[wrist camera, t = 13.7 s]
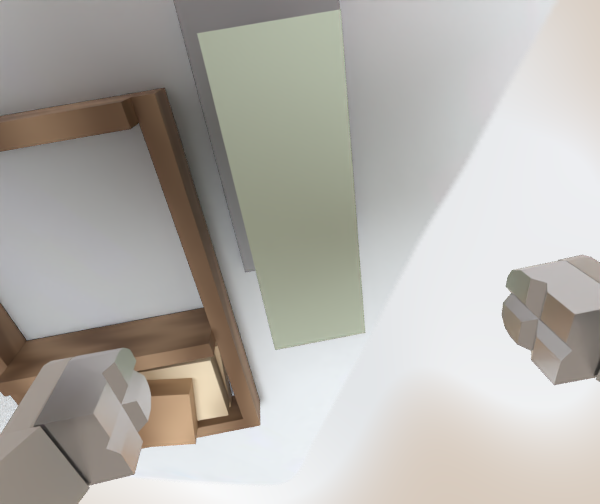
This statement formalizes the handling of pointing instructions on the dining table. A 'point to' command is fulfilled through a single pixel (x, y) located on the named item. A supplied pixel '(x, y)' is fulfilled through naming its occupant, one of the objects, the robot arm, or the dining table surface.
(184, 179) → the frame
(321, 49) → the pale green cuboid
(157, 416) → the offcut stack
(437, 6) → the dining table surface
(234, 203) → the slate pad
